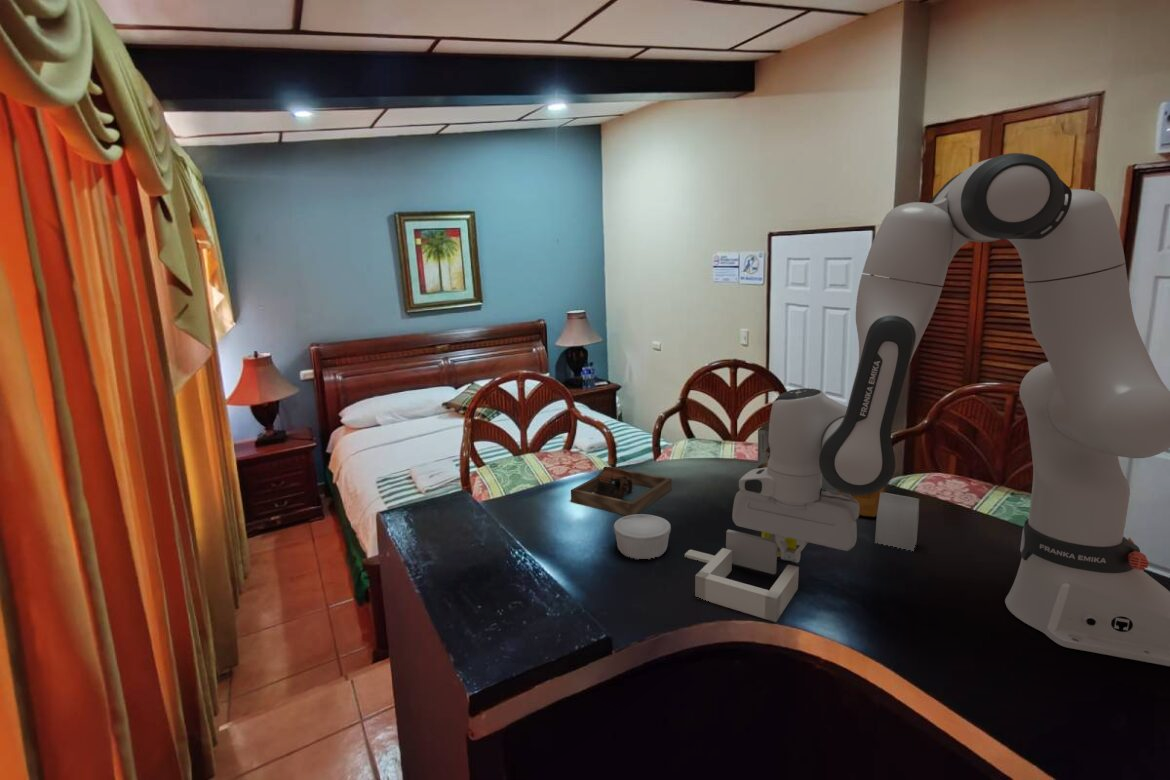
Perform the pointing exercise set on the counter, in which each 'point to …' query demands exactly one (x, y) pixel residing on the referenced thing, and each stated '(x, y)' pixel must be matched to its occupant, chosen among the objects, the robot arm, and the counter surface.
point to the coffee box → (763, 446)
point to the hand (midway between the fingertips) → (790, 559)
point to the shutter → (752, 551)
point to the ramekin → (642, 536)
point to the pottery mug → (618, 487)
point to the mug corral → (587, 497)
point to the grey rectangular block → (897, 521)
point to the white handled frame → (742, 587)
